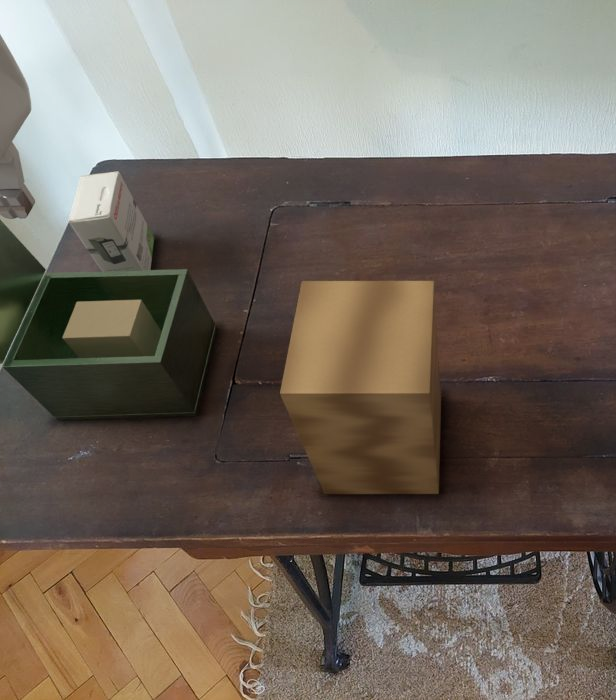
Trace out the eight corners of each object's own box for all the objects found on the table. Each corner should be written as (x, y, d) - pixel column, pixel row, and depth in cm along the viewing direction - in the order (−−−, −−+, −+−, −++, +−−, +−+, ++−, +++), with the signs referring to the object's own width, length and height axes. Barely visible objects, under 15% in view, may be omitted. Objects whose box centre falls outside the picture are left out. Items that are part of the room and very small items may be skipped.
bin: (217, 328, 81) (187, 268, 72) (196, 416, 74) (160, 362, 65) (91, 331, 81) (45, 272, 72) (57, 420, 73) (1, 366, 64)
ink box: (119, 242, 90) (77, 173, 80) (156, 237, 90) (119, 168, 81) (111, 288, 85) (65, 221, 75) (150, 283, 85) (110, 215, 76)
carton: (162, 382, 75) (129, 335, 68) (101, 384, 75) (61, 338, 68) (171, 347, 78) (141, 299, 71) (113, 349, 78) (76, 301, 71)
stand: (324, 494, 68) (279, 393, 52) (337, 396, 75) (301, 280, 59) (438, 494, 68) (429, 393, 52) (441, 396, 75) (434, 280, 59)
